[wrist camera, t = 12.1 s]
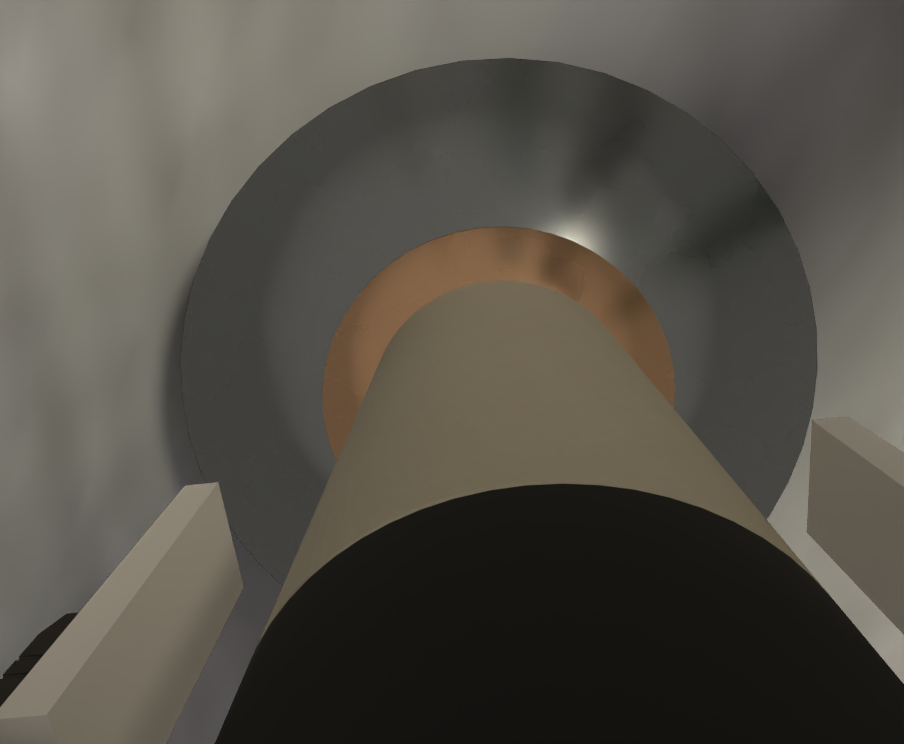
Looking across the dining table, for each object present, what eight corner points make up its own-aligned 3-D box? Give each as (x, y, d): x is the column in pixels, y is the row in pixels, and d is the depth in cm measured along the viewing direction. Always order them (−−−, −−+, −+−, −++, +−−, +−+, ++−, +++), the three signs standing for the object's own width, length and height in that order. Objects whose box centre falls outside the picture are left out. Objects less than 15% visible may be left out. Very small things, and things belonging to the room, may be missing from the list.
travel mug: (322, 422, 21) (-276, 1519, 4) (481, 221, 19) (607, 711, 2) (516, 561, 23) (671, 1815, 5) (683, 386, 21) (1741, 1490, 4)
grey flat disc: (798, 27, 20) (840, 10, 18) (778, 600, 26) (808, 641, 24) (138, 111, 21) (100, 105, 18) (266, 648, 27) (249, 692, 24)
